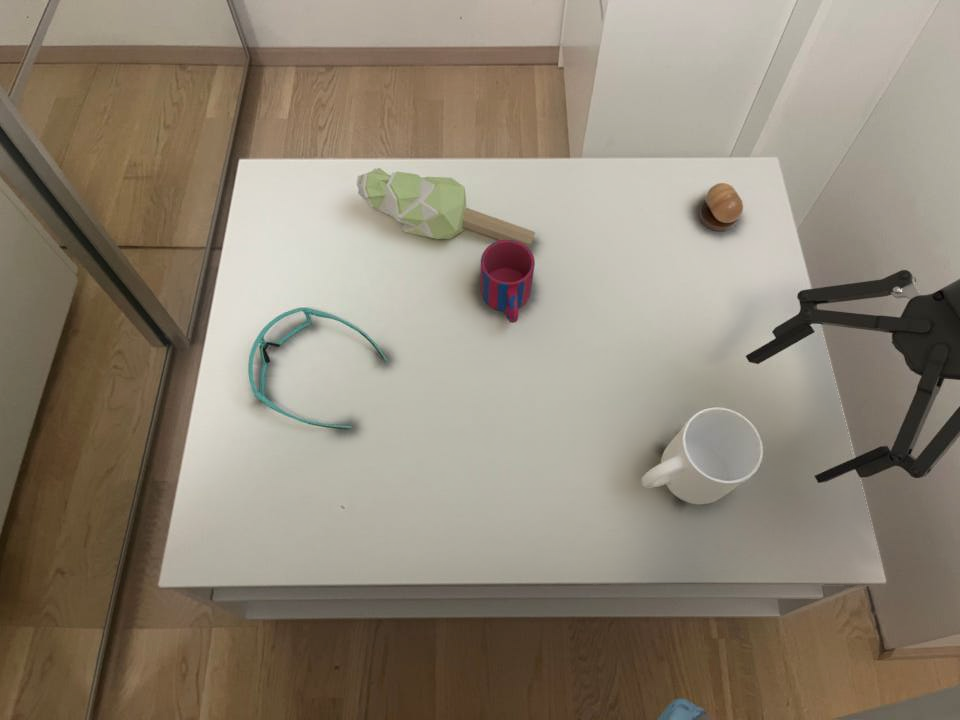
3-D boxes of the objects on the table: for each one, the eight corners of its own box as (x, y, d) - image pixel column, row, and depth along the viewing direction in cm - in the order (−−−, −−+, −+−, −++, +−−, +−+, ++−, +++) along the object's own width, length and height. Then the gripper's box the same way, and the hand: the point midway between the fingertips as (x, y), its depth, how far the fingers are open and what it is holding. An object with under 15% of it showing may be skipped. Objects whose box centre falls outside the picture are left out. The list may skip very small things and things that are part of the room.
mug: (647, 526, 76) (670, 505, 66) (618, 459, 79) (637, 430, 70) (741, 493, 77) (777, 468, 68) (709, 429, 81) (739, 397, 71)
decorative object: (540, 207, 94) (370, 146, 92) (544, 215, 85) (356, 148, 83) (519, 265, 97) (354, 208, 95) (520, 280, 88) (338, 216, 86)
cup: (529, 268, 90) (533, 239, 84) (532, 334, 86) (536, 308, 80) (480, 268, 90) (480, 239, 84) (480, 334, 86) (480, 308, 80)
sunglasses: (291, 307, 88) (285, 289, 83) (394, 351, 87) (394, 335, 82) (235, 399, 82) (224, 384, 78) (344, 447, 81) (340, 435, 76)
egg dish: (743, 227, 93) (757, 204, 89) (710, 237, 93) (722, 215, 88) (723, 196, 96) (736, 172, 91) (691, 205, 95) (702, 182, 90)
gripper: (1116, 433, 54) (861, 530, 66) (932, 201, 64) (739, 320, 76) (1120, 432, 49) (841, 538, 60) (918, 178, 59) (712, 310, 70)
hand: (784, 417), depth 68 cm, fingers open, 13 cm apart
